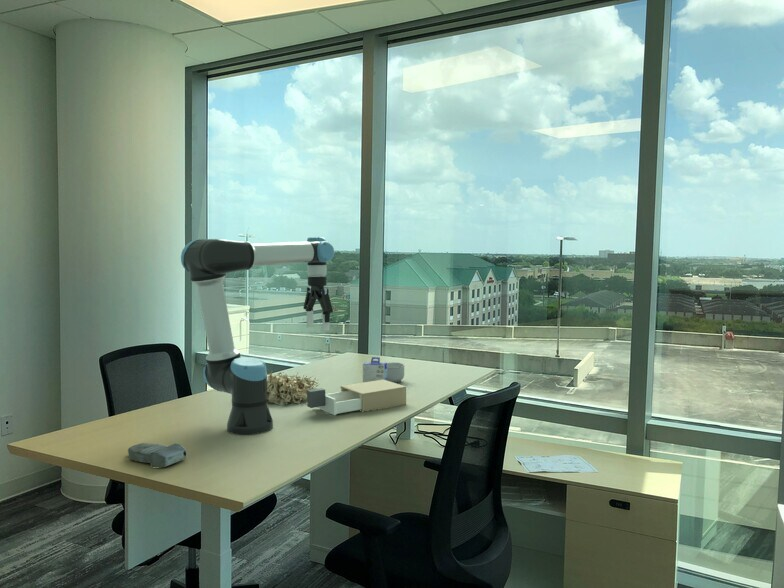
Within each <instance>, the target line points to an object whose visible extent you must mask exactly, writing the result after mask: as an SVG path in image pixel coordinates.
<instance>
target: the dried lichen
mask: <svg viewBox="0 0 784 588" xmlns="http://www.w3.org/2000/svg"><path fill="white" fill-rule="evenodd" d="M299 373H300V371H299V372H296V374H292V375H288V374H287V373H285V374H284V372H281V370H279V372H278V373H277V374H274V375H273V370H271V372H270V373H268V372H267V404H277V405H280V406H285V405H287V404H286V403H288V404H292V403H293V404H299V405H300V404H301V402H302V401H303V403H307V390H312V389H318V388H317V387H319V385H320V383H319V380H320V379H317V377H314V375H313V376H310V377H308V375H306V376H305V377H304V376H303V377H301V376H299ZM312 377H313V378H312Z"/></svg>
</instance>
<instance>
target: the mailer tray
mask: <svg viewBox="0 0 784 588" xmlns="http://www.w3.org/2000/svg"><path fill="white" fill-rule="evenodd" d="M306 404H307V405H306V406H307V407H308V408H310V409H313V408H317V409H319V410H322V411H324V412H326V413H328V414H331V415H332V416H337V414H343V413H348V412H354V411H355V412H356V411H359V410H360V409H362V395H361V394H358V393H355V392H352V391H350V390H348V391H342V392H341V391H337V392H332V393H326V389H325V388H322V387H319V388H317V389H312V390H307V402H306Z"/></svg>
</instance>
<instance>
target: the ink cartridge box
mask: <svg viewBox="0 0 784 588" xmlns="http://www.w3.org/2000/svg"><path fill="white" fill-rule="evenodd" d="M380 359H381V358H380V357H378V356H377V357H376V356H375V357H374V356H371V359H370V362H366V361H365V362H364V363H363V364H362V383H363V382H370V381H377V380H387V363H388V362H380Z"/></svg>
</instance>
